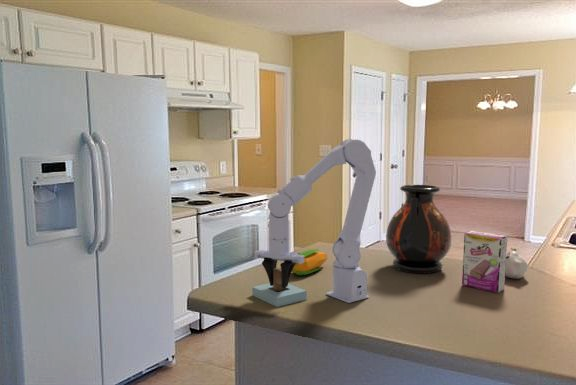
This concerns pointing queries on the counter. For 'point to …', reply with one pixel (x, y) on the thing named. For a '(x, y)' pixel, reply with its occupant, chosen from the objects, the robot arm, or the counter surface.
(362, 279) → the robot arm
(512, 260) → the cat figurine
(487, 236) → the candy bar box
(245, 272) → the counter surface
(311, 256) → the corn
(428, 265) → the black and orange vase
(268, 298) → the board
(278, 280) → the peg
